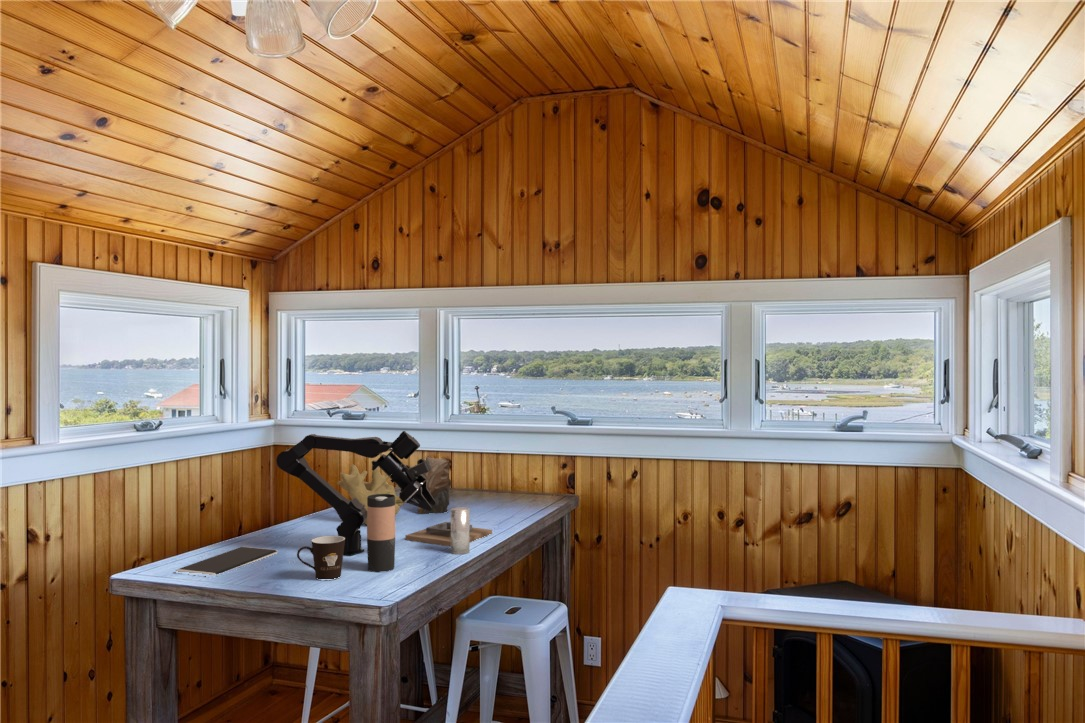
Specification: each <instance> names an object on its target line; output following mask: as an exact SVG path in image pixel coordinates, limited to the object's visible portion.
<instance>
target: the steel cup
mask: <svg viewBox="0 0 1085 723" xmlns="http://www.w3.org/2000/svg"><path fill="white" fill-rule="evenodd" d="M470 510H471V509H470V507H467V506H466V507H465V506H456V507H452V508H450V522H451V546H450V553H451V554H452V555H459V556H460V555H467V554H470V543H469V530H470V525H471V524H470V521H471V520H470V518H471V517H470V513H471V512H470Z"/></svg>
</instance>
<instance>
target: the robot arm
mask: <svg viewBox="0 0 1085 723" xmlns="http://www.w3.org/2000/svg"><path fill="white" fill-rule="evenodd" d="M420 447H421V444H420V443H419V441H418V440H417V439H416V438H415V437H414V436H412V435H411V434H410V433H408V432H406V430H403V431H402V432H401V433H399V436H398V437H397V438H395V440H393V442H391V441H385V440H382V438H380V437H378V436H369V437H359V438H351V437H350V438H348V437H339V436H328V435H318V434H316V433H311V434H308V435H305V437H303V439H302V440H300V441H299V442H298V443H296V444H295V445H293V446H292V447H291V448H289V449H287V450H283V451H281V452H280V453H278V455H277V457H276V463H275V464H276V466H277V467H278V469H279V470H282V471H284V472H285V473H286V474H288V475H290V476H293V477H295V478H297V479H299V480H301V481H302V482H303V483H304V484H305V485H307V486H308V487H309V488H310V489H311V490H312V491H313V492H314V493H316V494H317V495H318V496H319V497H320V498H321V499H322V500H324V501H325V502H326V503H327V504H328V505H330V506H331V507H332V508H333V509H334V510H335V512H336V513H337V516H338V517H339V518H340V520H341V521H342V522H341V523H340V524H339V525H338V526H337V527H336V528H335V529H336V531H337V536H341V537H344V538H345V544H344V553H343V556H354V555H356V554H359V553H364V552H365V548H364V549H363V548H362V534H361V530H360V529H361V527H362V526H363V524H365V523H364V522H365V521H366V520H367V510H366V509H365V508H364V507H365V505H363V504H361V503H360V502H359V501H358V500H357V499H356V498H354V499H351V500H350V499H348V498H347V497H345V495H343V494H341V493H340V491H338V490H337V489H336V488H335V487H333V486H332V485H331V484H330V483H329V482H328V481H327V480H325V479H324V478H323V477H321V475H320V474H318V473H317V472H316V471H315V470H314V469H312V467H311V466H310V465H309V462H308V461H307V459H306V457H305V456H306V455H308V454H309V453H310V452H311V451H312V450H313V449H319V450H328V451H339V452H349V453H353V454H356V455H359V456H362V457H365V458H368V459H374V458H376V457H378V456H379V457H378V459H376V460H372V461H371V465H372V466H371V471H372V472H373V471H374V470H375V469H376V468H377V467H379V469H381V470H382V472H384V473H385V475H386V474H387V475H388V476H390V478H389V479H390V481H391V483H394V484H395V485H397V487H398V488H400V492H399V494H398V496H399V498H400V499H401V500H402V501H403V502H405V501H406V500H407V501H406V502H405V503H406V504H409V505H412V506H414V507H415V506H416V507H417V508H418V507H420V508H423V509H425V510H428V511H431V510H432V507H431V506H430V504H432V505H435V504H436V502H435V500H434V498H433V497H432V495H431V494H430V492H429V490H428V488H427V480H426V481H425V482H424V483H423V481H424V480H425V479H426V477H425V476H424V475H423V473H427V472H429V471H431V469H432V468H431V466H430V463H429V462H428V460H426V459H424V458H420V459H418V460H417V464H415V465H413V466H410V465H409V464H405V463H404V462H402V461H401V460H403V459H405V460H408V459H409V458H410V457H411V456H412V455H413V454H414V453H415V452H416V451H418V449H419V448H420ZM390 450H391V451H390ZM388 451H389V453H387V454H383V453H386V452H388ZM381 454H382V455H381ZM380 455H381V456H380Z"/></svg>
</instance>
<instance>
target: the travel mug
mask: <svg viewBox="0 0 1085 723" xmlns="http://www.w3.org/2000/svg"><path fill="white" fill-rule="evenodd" d="M366 546H367V547H366V549H367V552H366V553H367V570H368V571H369V570H370V571H369V572H372V571H377V572H376V573H380V572H379V571H386V572H390V571H394V569H395V562H396V560H395V558H396V556H395V555H396V553H395V552H396V515H395V495H392V494H375V495H370V496H368V497H367V525H366ZM389 570H390V571H389Z"/></svg>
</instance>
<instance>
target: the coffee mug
mask: <svg viewBox="0 0 1085 723" xmlns="http://www.w3.org/2000/svg"><path fill="white" fill-rule="evenodd" d="M344 544H345V538H344V537H341V536H338V535H325V536H319V537H318V536H317V537H314V538H312V539H311V546H310V547H309V546H307V545H306V546H302V547H299V549H298V550H297V552H296V557H297V559H298V561H299V562H301V563H302V564H303V565H306V566H308V567H309V568H311V569H313V570H314V573H315V579H316V578H318V579H334V578H338V577H340V576H341V577H342V571H343V570H342V569H343V560H344V555H343V553H344ZM303 550H309V551H310V553H311V554H312V557H313V558H312V559H313V565H312V564H310V563H308V562H306V561H304V560H303V559H302V558H301V557H300V552H301V551H303ZM341 577H340V578H341ZM338 579H339V578H338Z"/></svg>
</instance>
